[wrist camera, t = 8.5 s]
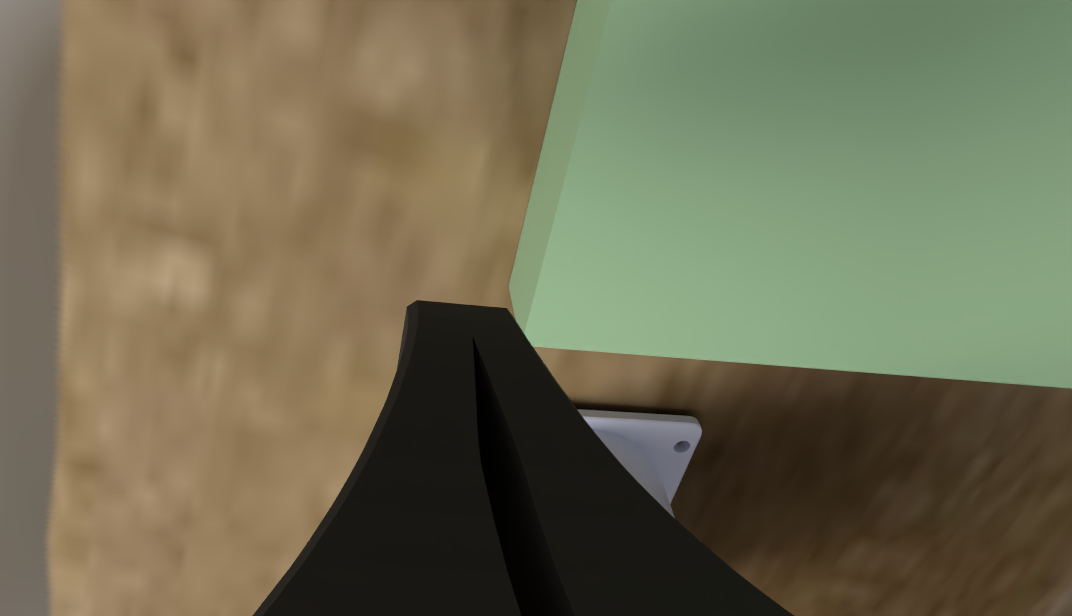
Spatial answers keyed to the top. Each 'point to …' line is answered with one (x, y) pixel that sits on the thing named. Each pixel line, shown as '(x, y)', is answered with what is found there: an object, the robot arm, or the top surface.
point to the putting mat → (809, 187)
